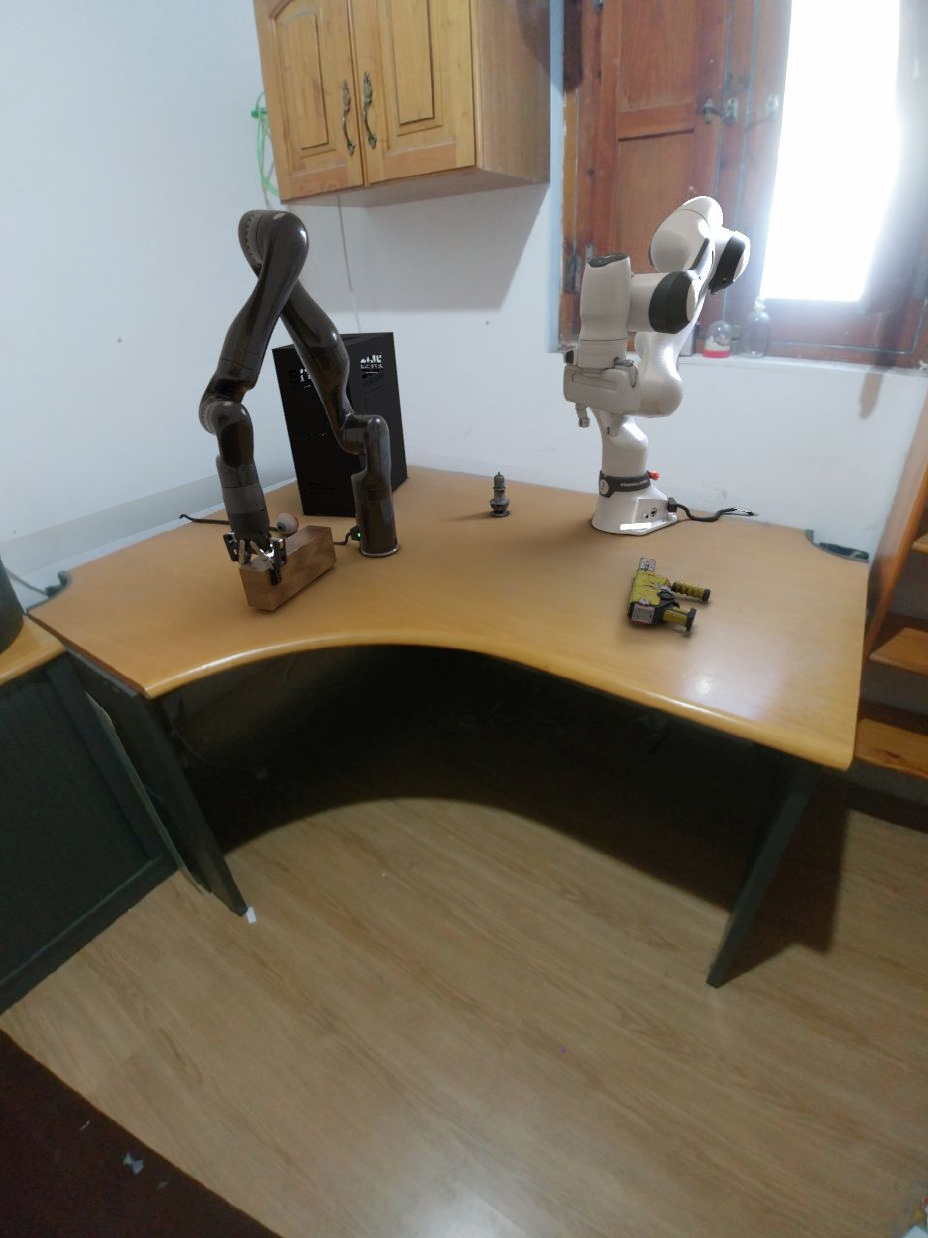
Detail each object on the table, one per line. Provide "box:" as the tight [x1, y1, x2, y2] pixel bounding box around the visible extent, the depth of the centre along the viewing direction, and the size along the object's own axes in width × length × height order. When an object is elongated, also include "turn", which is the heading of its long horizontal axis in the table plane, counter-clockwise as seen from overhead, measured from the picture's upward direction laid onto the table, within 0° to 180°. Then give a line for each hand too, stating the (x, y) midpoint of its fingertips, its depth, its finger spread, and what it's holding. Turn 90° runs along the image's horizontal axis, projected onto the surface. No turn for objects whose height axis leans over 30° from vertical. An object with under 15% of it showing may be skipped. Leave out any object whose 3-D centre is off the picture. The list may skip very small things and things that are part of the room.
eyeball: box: [275, 511, 300, 536], centre depth 163 cm, size 6×6×6 cm
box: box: [238, 524, 338, 612], centre depth 133 cm, size 25×6×9 cm, turn 158°
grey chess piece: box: [488, 471, 511, 517], centre depth 168 cm, size 6×6×12 cm
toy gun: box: [626, 557, 712, 633], centre depth 120 cm, size 5×24×15 cm
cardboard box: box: [271, 331, 409, 517], centre depth 180 cm, size 38×20×45 cm, turn 167°
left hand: (264, 581), depth 126 cm, fingers closed on box, 6 cm apart
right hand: (597, 431), depth 119 cm, fingers open, 8 cm apart
